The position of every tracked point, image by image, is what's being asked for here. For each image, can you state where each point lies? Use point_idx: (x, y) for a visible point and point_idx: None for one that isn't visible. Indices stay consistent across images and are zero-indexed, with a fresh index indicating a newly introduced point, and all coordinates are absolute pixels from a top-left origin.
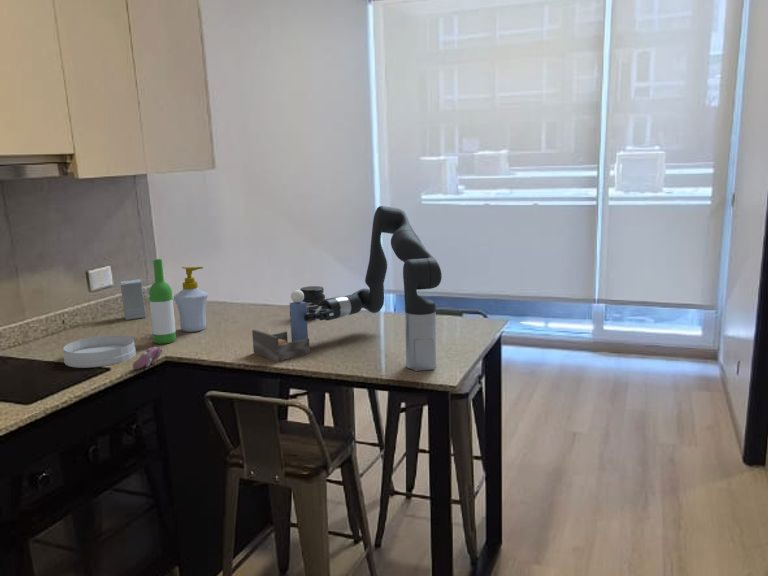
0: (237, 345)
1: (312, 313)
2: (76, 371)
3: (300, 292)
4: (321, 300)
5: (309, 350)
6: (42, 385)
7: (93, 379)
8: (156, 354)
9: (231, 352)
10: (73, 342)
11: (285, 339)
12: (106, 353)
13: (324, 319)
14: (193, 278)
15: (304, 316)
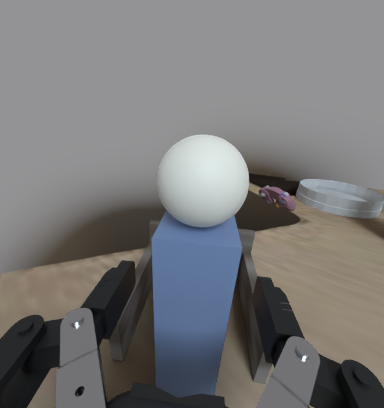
0: (335, 292)
1: (98, 294)
2: (288, 189)
3: (170, 148)
4: None
5: (112, 351)
6: (263, 179)
7: (256, 187)
8: (276, 198)
9: (277, 260)
10: (358, 186)
11: (256, 354)
12: (300, 186)
13: (8, 388)
14: None
15: (131, 265)
